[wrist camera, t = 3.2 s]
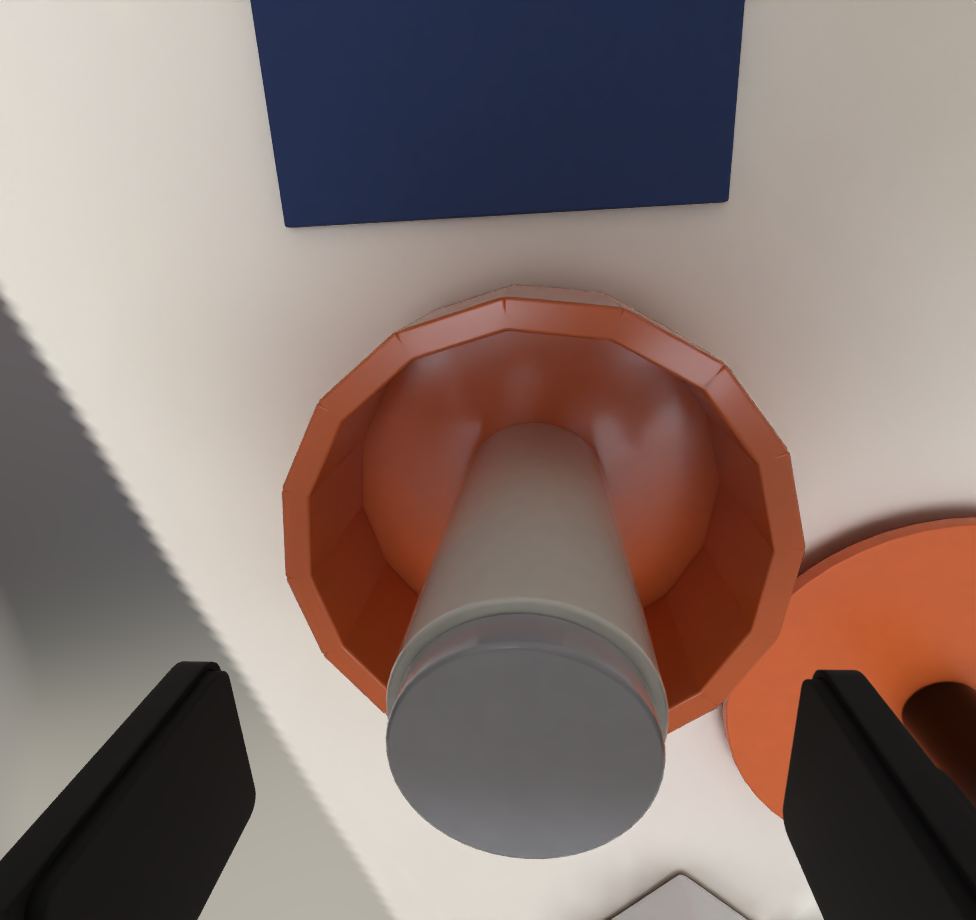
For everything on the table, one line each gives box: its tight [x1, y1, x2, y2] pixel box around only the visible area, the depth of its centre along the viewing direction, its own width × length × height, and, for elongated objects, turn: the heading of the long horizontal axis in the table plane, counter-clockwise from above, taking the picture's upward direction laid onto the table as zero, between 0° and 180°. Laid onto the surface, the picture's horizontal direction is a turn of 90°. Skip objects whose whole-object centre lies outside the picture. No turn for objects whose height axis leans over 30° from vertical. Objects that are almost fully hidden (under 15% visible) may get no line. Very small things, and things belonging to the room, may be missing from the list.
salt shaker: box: [386, 423, 669, 859], centre depth 14 cm, size 5×5×10 cm
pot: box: [282, 285, 805, 734], centre depth 16 cm, size 12×12×5 cm
